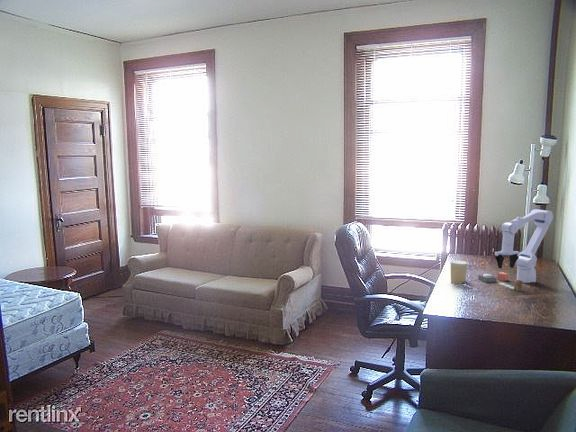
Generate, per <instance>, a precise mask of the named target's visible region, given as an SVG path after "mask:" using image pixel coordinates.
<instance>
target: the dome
mask: <svg viewBox="0 0 576 432" xmlns="http://www.w3.org/2000/svg"><path fill="white" fill-rule="evenodd" d="M482 275H483V276H484V277H486V278H489V277H492V276H493V275H492V274H490V273H483V274H482Z"/></svg>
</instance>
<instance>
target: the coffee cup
mask: <svg viewBox="0 0 576 432" xmlns="http://www.w3.org/2000/svg"><path fill="white" fill-rule="evenodd" d="M449 264H450V283H451V284H455V285H465V284H466V278H467V272H468V262H467V261H465V260H464V261H463V260H457V259H456V260H451V261H450V263H449Z"/></svg>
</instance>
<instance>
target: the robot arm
mask: <svg viewBox="0 0 576 432" xmlns="http://www.w3.org/2000/svg"><path fill="white" fill-rule="evenodd" d="M553 219H554V213H553V212H552V211H551V210H546V209H545V210H544V209H538V208H534V209H532V210H530V213H528V214H526V215H524V216H523V217H521V216H516V218H513V219H512V220H510V221H509V222H508V221H507V222H504V223H502V225H501V227H500V230H501V234H502V241H501V242H502V243H501V250H499V251H494V258H495V260H496V263H497V267H498V269H503V265H504V263H503V262H504V260H505V257H504V256H509V268H510V269H514V267H515V266H516V268H517V272H516V280H521V281H522V284H523V283H524V284H527V283H529V284H530V283H536V282H537V271H536V268H535V267H536V265H537V261H538V258H537V256H536V253H537V251H538V249H539V247H540V245H541V242H543V239H544V238H545V236H546V234H547V232H548V230H549V227H550V226H551V223H552V221H553ZM531 221H533V223H534V225H535V226H536V228H535V230H534V232H533V234H532V236H531V237H530V239H529V241H528V244H527V246H526V247H525V249H524V250H522V251H517V250H514V246H515V245H514V243H515V234H516V233H517V232H518V231H519V230H520V229H521V228H524V227H525V226H526V224H527V223H529V222H531Z"/></svg>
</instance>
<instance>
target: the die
mask: <svg viewBox="0 0 576 432" xmlns="http://www.w3.org/2000/svg"><path fill="white" fill-rule="evenodd" d="M497 280H498V281H502V282H505V281H508V280H509V273H507V272H503V271H502V272H501V271H500V272H497Z"/></svg>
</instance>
